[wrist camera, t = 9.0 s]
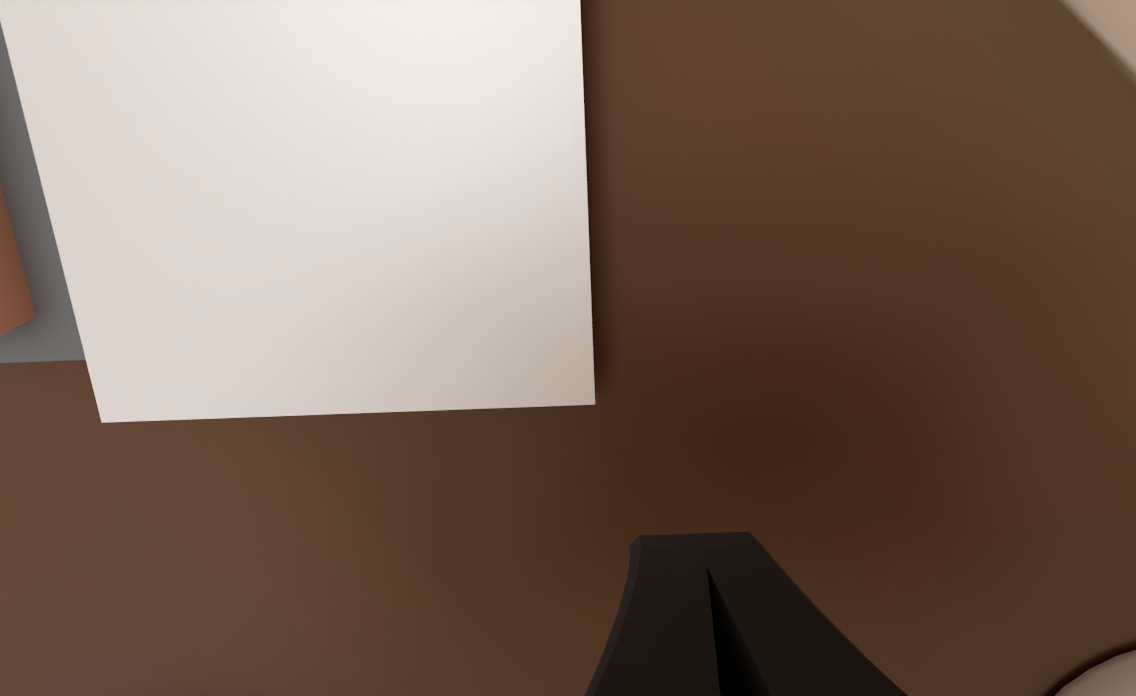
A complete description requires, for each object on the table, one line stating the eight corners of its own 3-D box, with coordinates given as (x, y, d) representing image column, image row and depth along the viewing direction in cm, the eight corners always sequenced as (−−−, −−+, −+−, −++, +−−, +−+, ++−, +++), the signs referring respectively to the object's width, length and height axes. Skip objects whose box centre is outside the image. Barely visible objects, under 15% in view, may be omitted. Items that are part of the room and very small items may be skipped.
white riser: (593, 375, 19) (595, 405, 18) (136, 392, 20) (101, 422, 18) (574, -150, 16) (574, -165, 14) (16, -121, 16) (-39, -133, 15)
